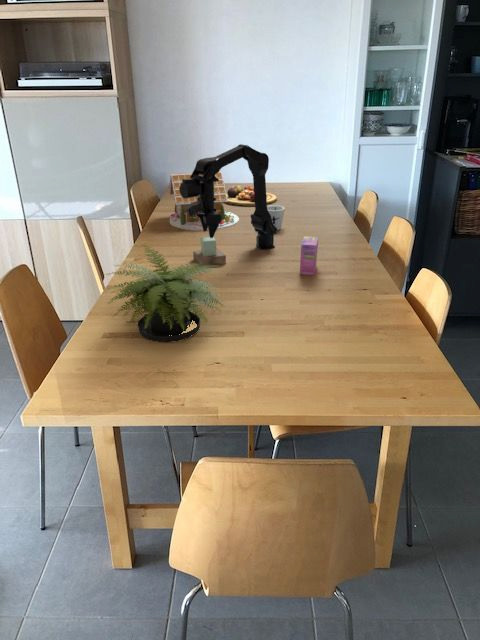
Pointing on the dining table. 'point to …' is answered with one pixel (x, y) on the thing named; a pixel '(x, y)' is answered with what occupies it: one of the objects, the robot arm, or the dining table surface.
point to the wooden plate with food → (245, 196)
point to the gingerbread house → (181, 216)
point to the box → (308, 255)
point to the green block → (208, 246)
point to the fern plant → (166, 299)
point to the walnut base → (209, 258)
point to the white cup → (276, 215)
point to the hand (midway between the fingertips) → (208, 234)
